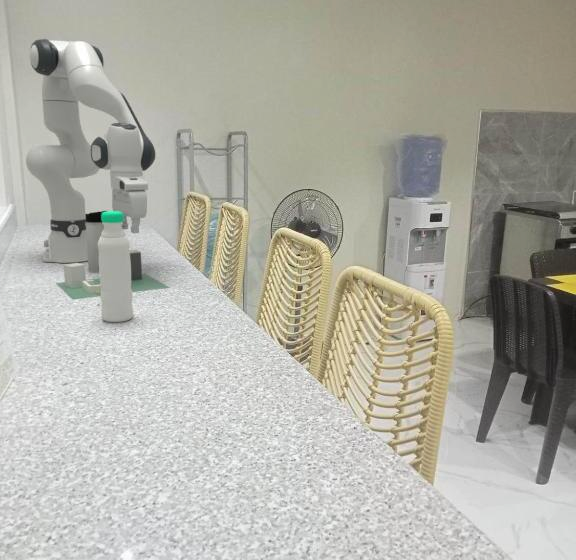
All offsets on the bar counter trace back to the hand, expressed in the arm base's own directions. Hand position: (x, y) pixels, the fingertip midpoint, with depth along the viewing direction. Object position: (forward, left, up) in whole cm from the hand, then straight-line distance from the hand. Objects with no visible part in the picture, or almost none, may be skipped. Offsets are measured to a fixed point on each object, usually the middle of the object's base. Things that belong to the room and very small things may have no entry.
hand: (129, 231), depth 164 cm
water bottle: (+33, -14, -16) cm, 39 cm away
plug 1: (+1, -16, -14) cm, 21 cm away
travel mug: (-15, -5, -16) cm, 22 cm away
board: (+5, -7, -15) cm, 18 cm away
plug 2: (0, 0, -14) cm, 14 cm away
